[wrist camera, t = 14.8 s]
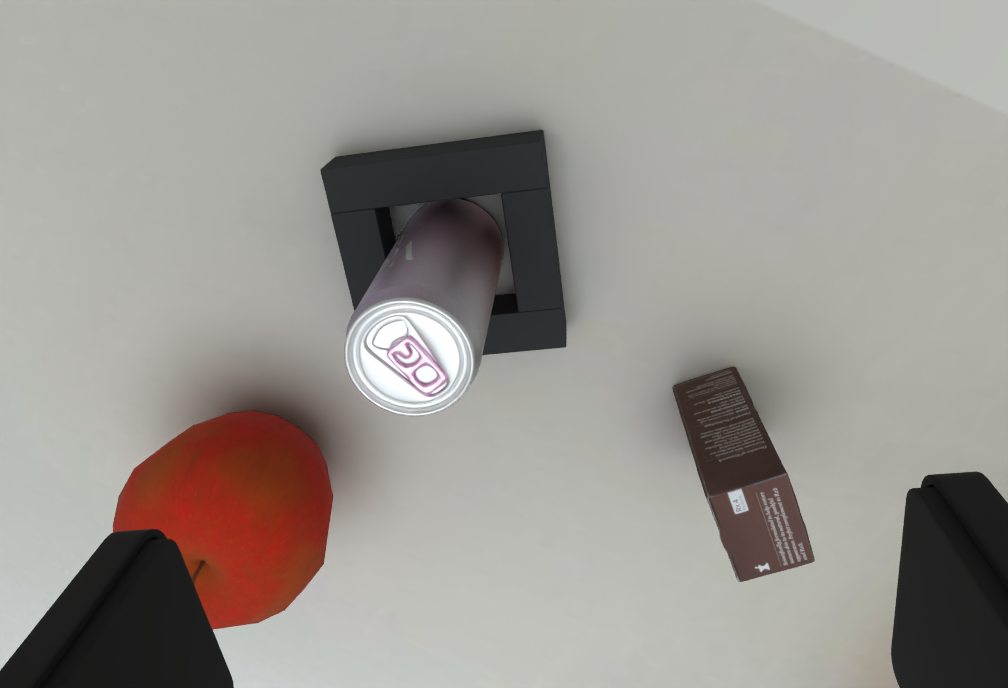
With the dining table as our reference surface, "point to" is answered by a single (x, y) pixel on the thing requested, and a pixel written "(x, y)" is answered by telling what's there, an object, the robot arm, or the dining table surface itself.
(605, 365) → the dining table surface
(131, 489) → the apple
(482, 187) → the socket pad
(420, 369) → the beverage can
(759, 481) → the box
